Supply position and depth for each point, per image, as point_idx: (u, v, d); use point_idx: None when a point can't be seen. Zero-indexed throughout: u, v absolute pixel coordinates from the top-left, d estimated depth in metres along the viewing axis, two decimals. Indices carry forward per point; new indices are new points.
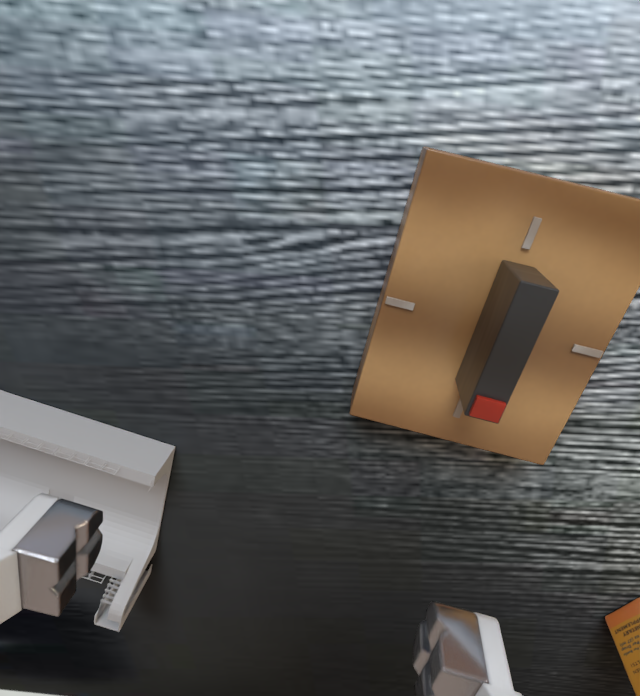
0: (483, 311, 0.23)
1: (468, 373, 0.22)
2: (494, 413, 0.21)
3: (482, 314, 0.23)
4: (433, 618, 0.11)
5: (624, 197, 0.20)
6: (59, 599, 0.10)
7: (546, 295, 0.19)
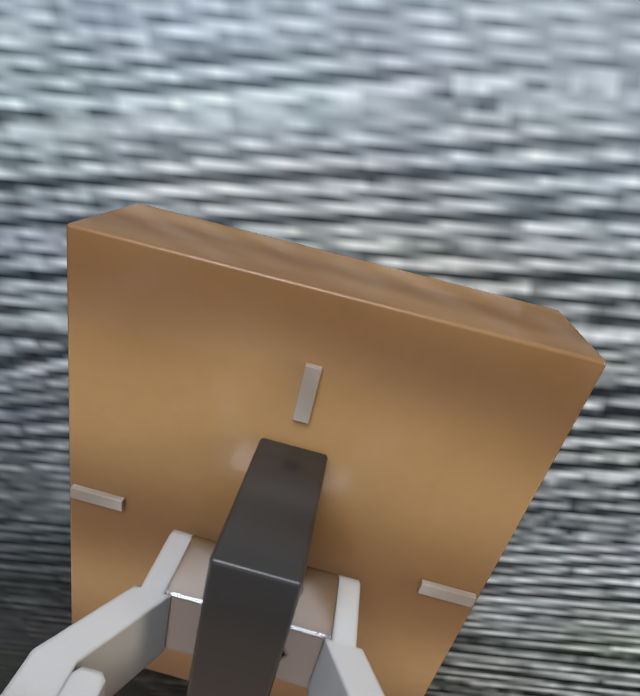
0: None
1: None
2: None
3: None
4: None
5: (485, 333, 0.09)
6: None
7: (274, 591, 0.08)
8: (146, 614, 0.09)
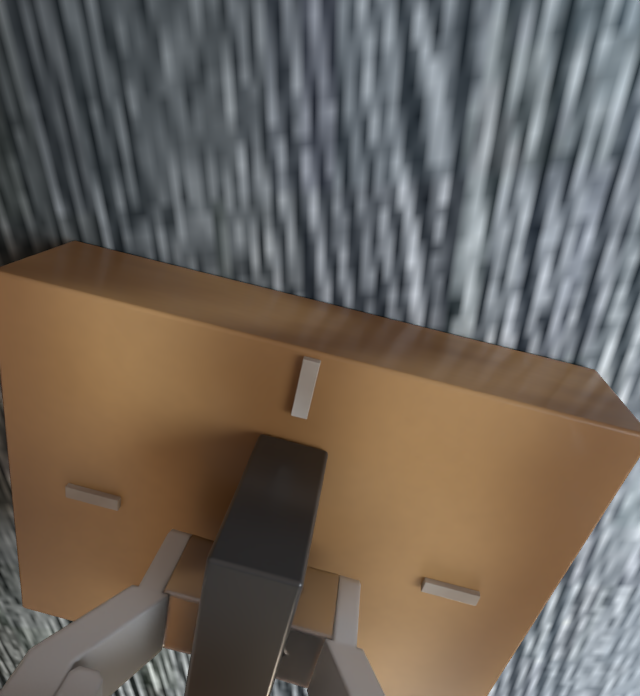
0: None
1: None
2: None
3: None
4: None
5: (494, 683, 0.13)
6: None
7: (273, 591, 0.08)
8: (144, 613, 0.09)
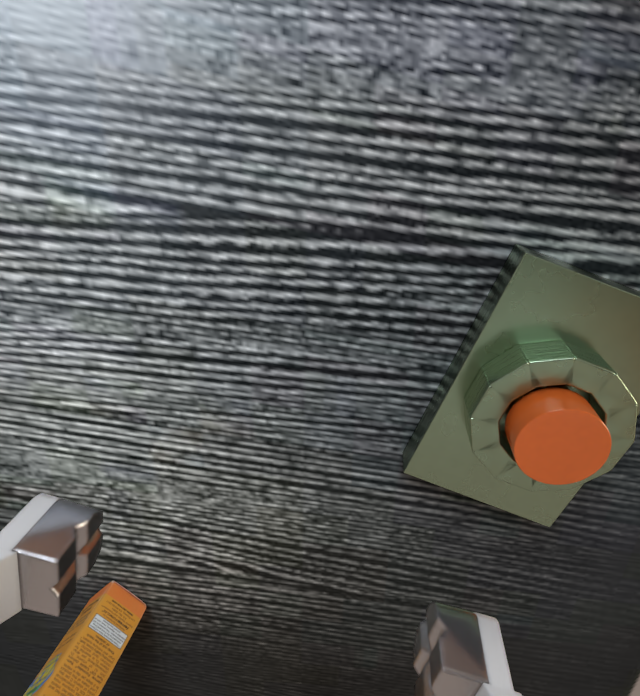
0: None
1: None
2: None
3: None
4: (433, 618, 0.11)
5: None
6: (59, 599, 0.10)
7: None
8: None
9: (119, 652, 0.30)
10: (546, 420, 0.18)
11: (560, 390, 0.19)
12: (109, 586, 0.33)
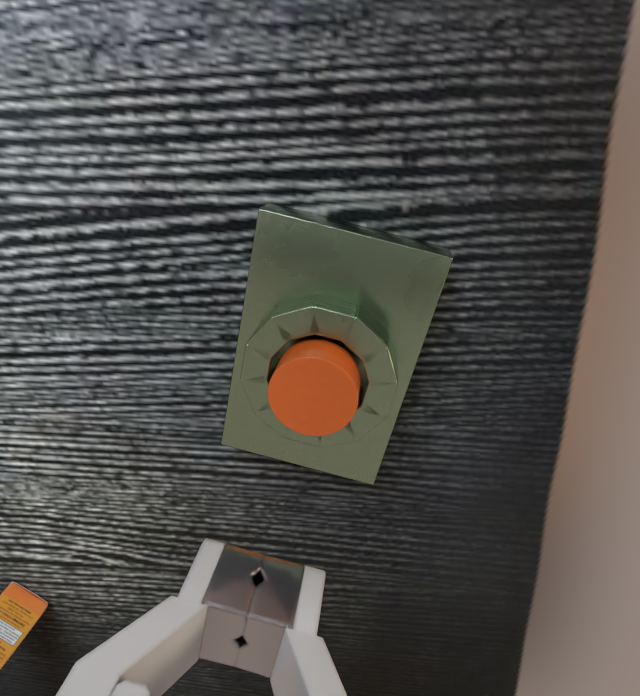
0: None
1: None
2: None
3: None
4: (260, 570, 0.11)
5: None
6: (239, 650, 0.10)
7: None
8: (185, 624, 0.09)
9: (11, 648, 0.31)
10: (287, 371, 0.18)
11: (312, 341, 0.19)
12: (7, 587, 0.34)
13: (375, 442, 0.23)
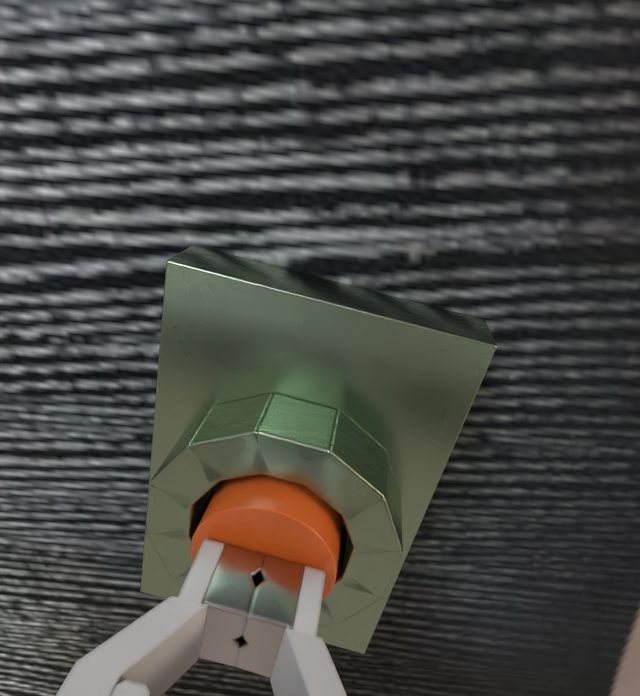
0: None
1: None
2: None
3: None
4: (260, 571, 0.11)
5: None
6: (239, 650, 0.10)
7: None
8: (185, 624, 0.09)
9: None
10: (219, 526, 0.11)
11: None
12: None
13: None
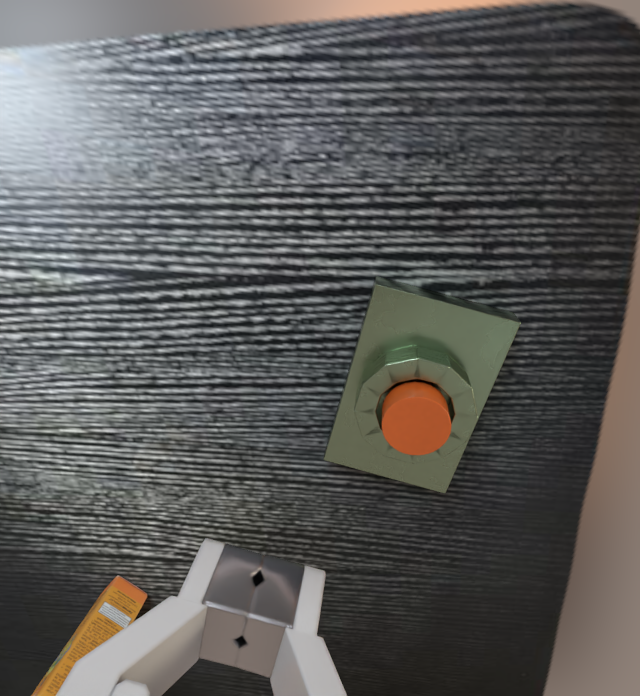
0: None
1: None
2: None
3: None
4: (260, 571, 0.11)
5: None
6: (239, 650, 0.10)
7: None
8: (185, 624, 0.09)
9: None
10: (399, 407, 0.25)
11: (414, 383, 0.26)
12: (114, 580, 0.39)
13: (449, 459, 0.29)
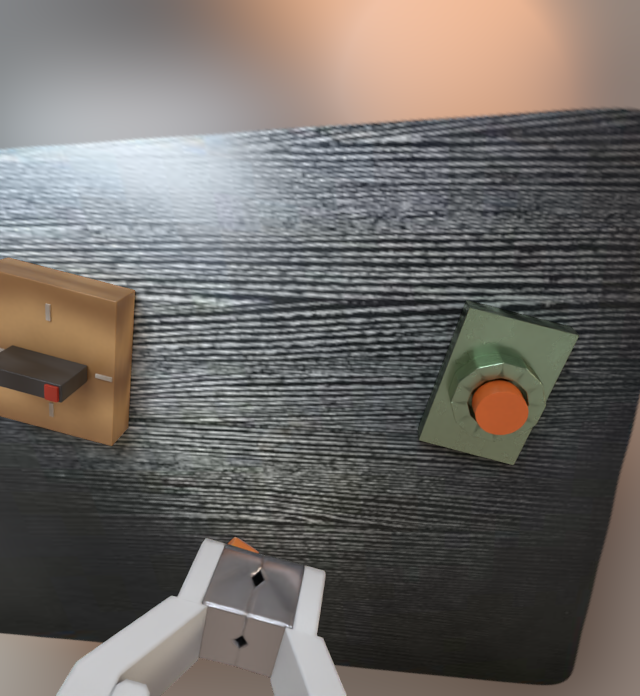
0: None
1: None
2: (51, 390, 0.36)
3: None
4: (260, 571, 0.11)
5: (86, 294, 0.36)
6: (239, 650, 0.10)
7: None
8: (185, 624, 0.09)
9: None
10: (490, 399, 0.33)
11: (498, 381, 0.34)
12: (233, 540, 0.49)
13: (518, 439, 0.38)
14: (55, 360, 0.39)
